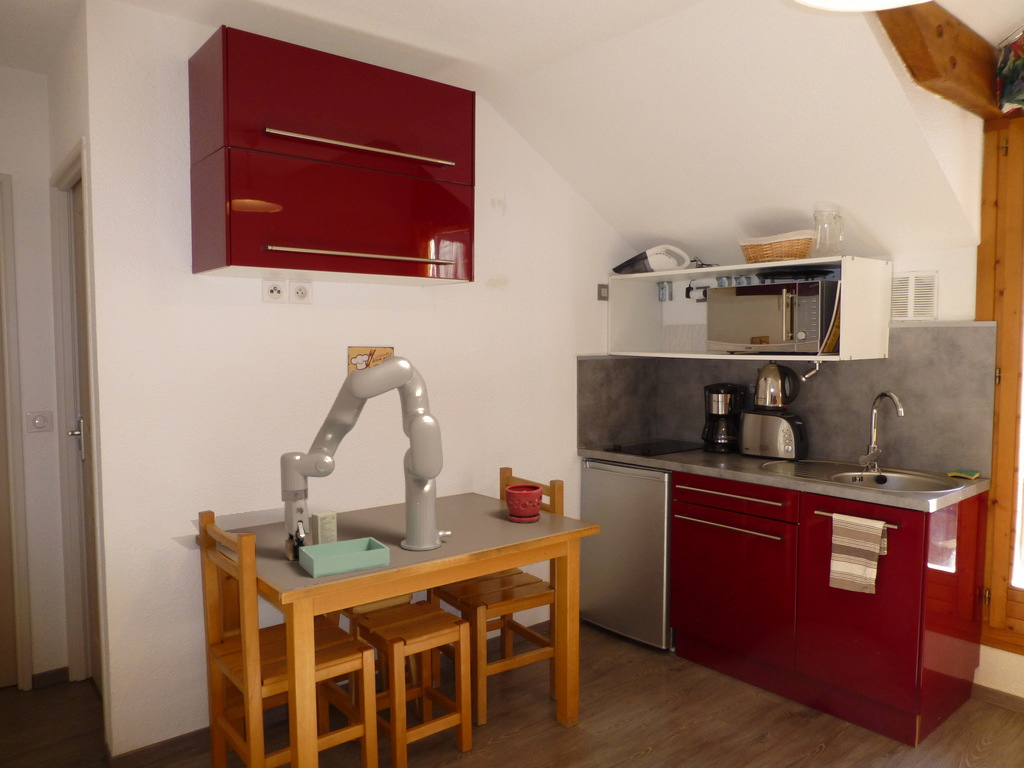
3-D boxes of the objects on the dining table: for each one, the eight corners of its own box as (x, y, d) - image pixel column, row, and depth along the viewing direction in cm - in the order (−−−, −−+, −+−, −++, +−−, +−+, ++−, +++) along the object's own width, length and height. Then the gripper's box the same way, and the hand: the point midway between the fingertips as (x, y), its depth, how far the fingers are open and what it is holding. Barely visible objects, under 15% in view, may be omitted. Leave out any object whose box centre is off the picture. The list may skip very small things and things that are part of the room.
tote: (371, 553, 223) (371, 536, 223) (389, 565, 210) (389, 548, 210) (299, 564, 212) (299, 547, 212) (313, 578, 199) (313, 559, 199)
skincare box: (330, 549, 228) (330, 510, 227) (337, 552, 224) (337, 512, 224) (311, 553, 224) (311, 513, 223) (318, 556, 220) (317, 515, 220)
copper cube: (302, 553, 222) (302, 537, 222) (307, 557, 218) (307, 541, 217) (285, 556, 220) (285, 539, 219) (290, 560, 215) (289, 543, 215)
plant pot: (505, 516, 271) (505, 483, 271) (541, 516, 271) (541, 483, 271) (505, 524, 258) (505, 490, 258) (543, 524, 258) (543, 490, 258)
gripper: (315, 498, 212) (317, 561, 213) (299, 488, 227) (301, 547, 228) (289, 501, 208) (291, 565, 209) (274, 491, 223) (276, 551, 224)
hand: (296, 555), depth 219 cm, fingers closed on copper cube, 5 cm apart
